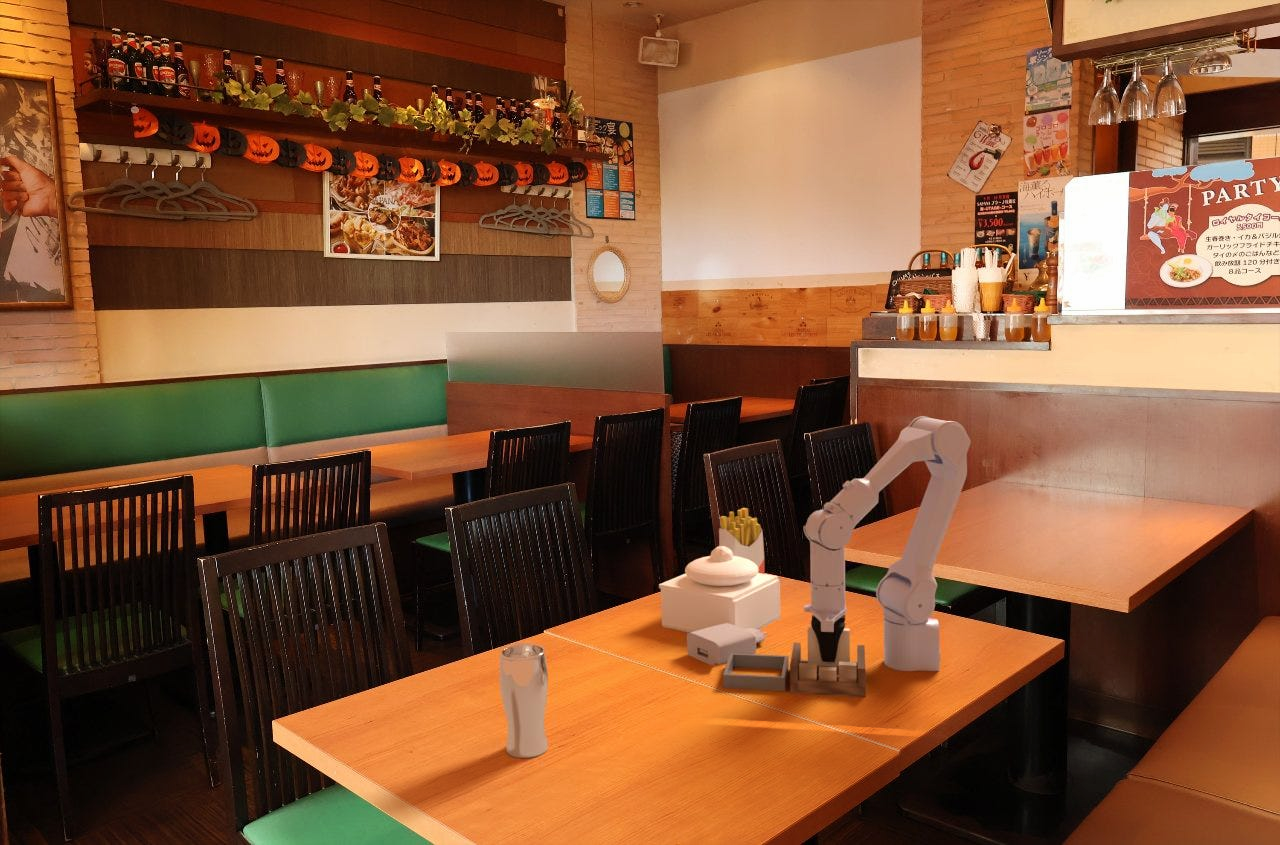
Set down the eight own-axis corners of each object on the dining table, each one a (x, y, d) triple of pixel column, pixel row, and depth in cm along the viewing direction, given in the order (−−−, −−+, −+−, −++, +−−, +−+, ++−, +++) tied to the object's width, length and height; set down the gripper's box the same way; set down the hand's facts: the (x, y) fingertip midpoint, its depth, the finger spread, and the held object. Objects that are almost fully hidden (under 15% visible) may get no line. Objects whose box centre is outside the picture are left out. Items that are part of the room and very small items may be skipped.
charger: (780, 650, 181) (719, 669, 172) (747, 638, 189) (687, 655, 180) (780, 626, 181) (718, 643, 172) (747, 614, 188) (686, 631, 179)
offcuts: (856, 688, 159) (856, 662, 159) (856, 692, 158) (856, 665, 157) (799, 685, 161) (799, 659, 161) (799, 689, 160) (799, 663, 159)
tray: (788, 672, 170) (788, 655, 169) (785, 695, 160) (784, 677, 159) (730, 669, 172) (730, 653, 171) (723, 692, 162) (722, 674, 161)
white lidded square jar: (735, 643, 186) (733, 562, 184) (659, 627, 197) (657, 550, 195) (780, 618, 199) (779, 542, 198) (707, 604, 210) (705, 532, 208)
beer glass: (552, 737, 147) (547, 641, 145) (549, 758, 140) (544, 658, 138) (505, 739, 146) (501, 643, 145) (501, 761, 140) (495, 660, 138)
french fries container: (766, 586, 222) (764, 508, 220) (736, 597, 214) (734, 517, 212) (750, 582, 225) (748, 506, 223) (720, 593, 218) (718, 514, 215)
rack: (864, 674, 168) (864, 644, 167) (865, 701, 156) (865, 670, 155) (794, 670, 170) (793, 641, 170) (790, 697, 159) (789, 666, 158)
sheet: (849, 673, 166) (849, 628, 165) (849, 676, 165) (849, 630, 164) (808, 671, 167) (807, 626, 166) (808, 674, 166) (807, 629, 165)
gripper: (805, 569, 172) (806, 643, 174) (801, 593, 158) (802, 673, 159) (846, 570, 170) (847, 645, 172) (846, 594, 156) (846, 675, 158)
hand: (828, 659), depth 166 cm, fingers closed on sheet, 1 cm apart
